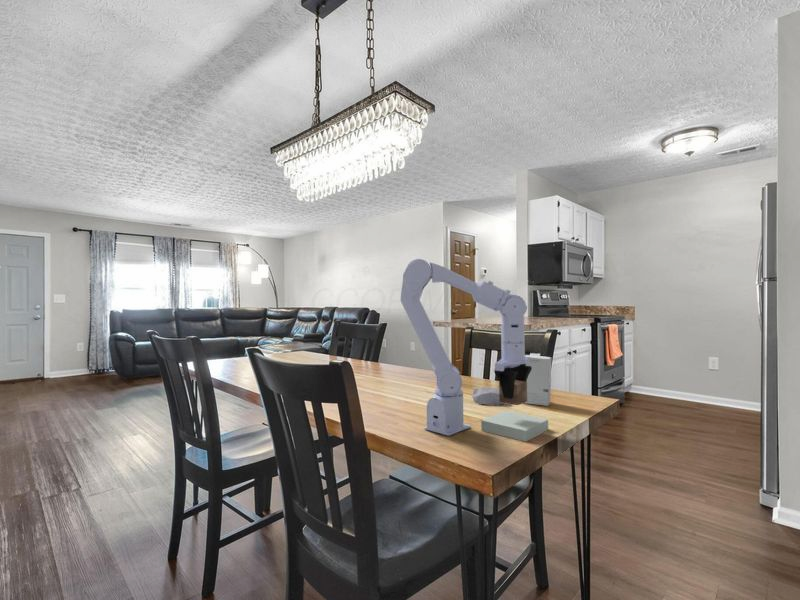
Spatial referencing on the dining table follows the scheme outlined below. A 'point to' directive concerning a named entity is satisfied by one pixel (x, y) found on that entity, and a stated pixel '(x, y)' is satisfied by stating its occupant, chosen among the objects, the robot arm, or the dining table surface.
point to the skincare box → (539, 380)
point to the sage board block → (514, 425)
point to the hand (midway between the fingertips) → (513, 395)
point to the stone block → (486, 395)
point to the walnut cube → (515, 393)
